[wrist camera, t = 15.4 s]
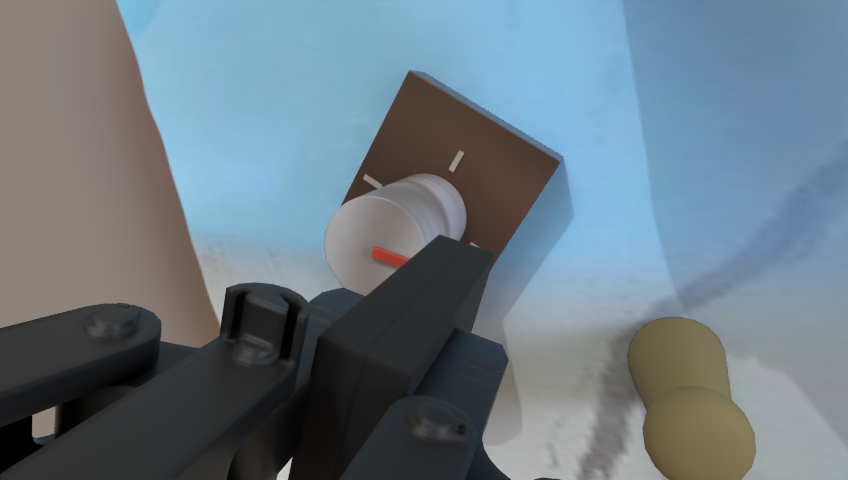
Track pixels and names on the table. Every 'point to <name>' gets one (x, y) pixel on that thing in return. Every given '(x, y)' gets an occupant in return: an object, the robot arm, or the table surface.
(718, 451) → the olive pawn figure
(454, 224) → the knob
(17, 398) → the robot arm
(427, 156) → the control panel
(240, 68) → the table surface
